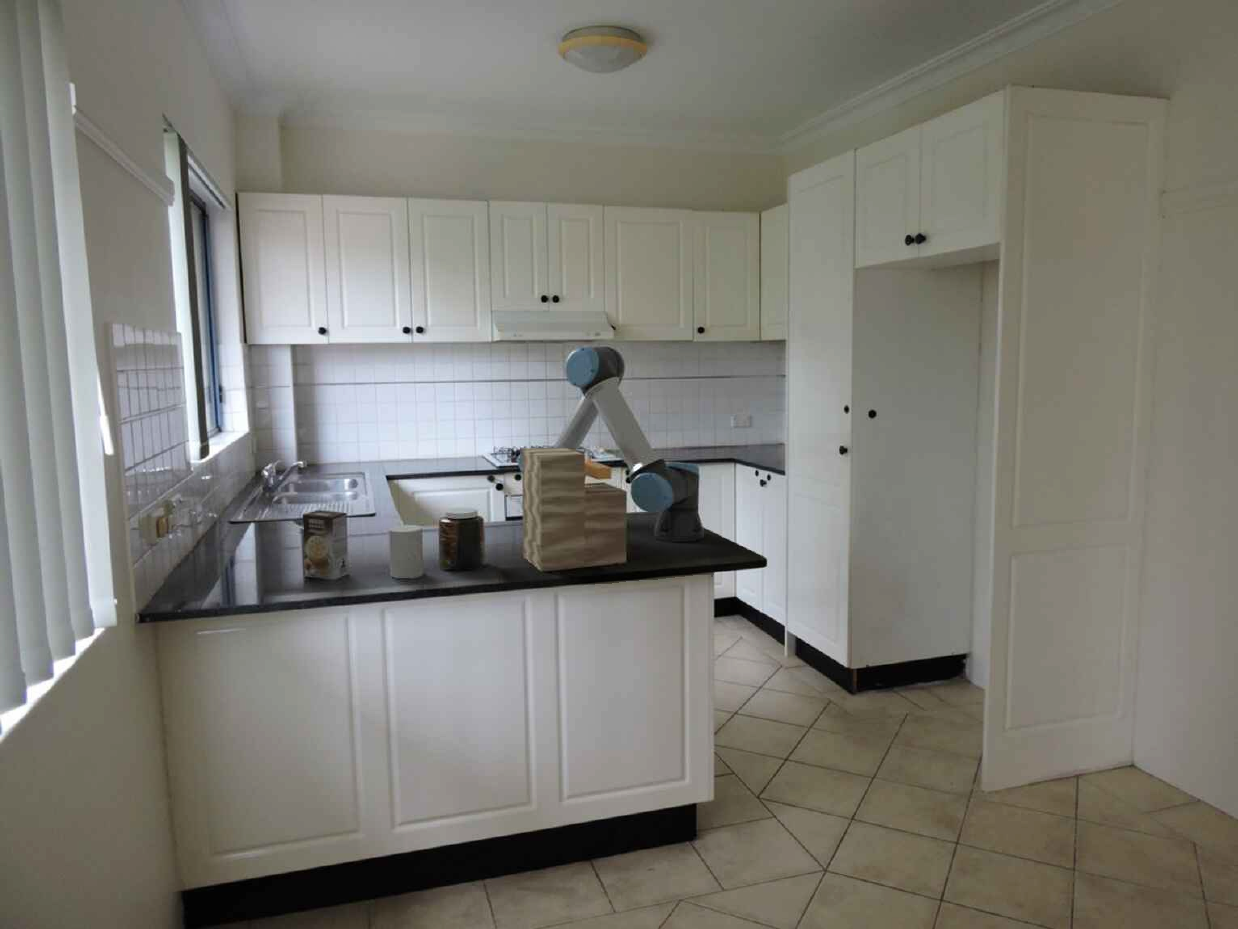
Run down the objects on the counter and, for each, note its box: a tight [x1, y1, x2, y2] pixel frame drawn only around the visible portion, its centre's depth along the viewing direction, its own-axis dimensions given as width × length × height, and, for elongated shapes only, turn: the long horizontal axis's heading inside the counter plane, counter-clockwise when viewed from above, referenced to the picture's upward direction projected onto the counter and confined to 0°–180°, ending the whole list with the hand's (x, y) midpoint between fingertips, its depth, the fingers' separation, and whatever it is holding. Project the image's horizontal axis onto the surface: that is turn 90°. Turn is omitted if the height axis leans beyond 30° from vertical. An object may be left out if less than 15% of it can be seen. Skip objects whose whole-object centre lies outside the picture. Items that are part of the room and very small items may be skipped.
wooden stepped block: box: [520, 447, 628, 572], centre depth 229 cm, size 17×24×30 cm
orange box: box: [585, 458, 612, 481], centre depth 235 cm, size 26×4×3 cm, turn 23°
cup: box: [388, 524, 424, 579], centre depth 214 cm, size 8×8×12 cm
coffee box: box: [302, 509, 349, 580], centre depth 213 cm, size 9×6×16 cm
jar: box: [437, 507, 486, 572], centre depth 223 cm, size 12×12×15 cm
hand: (581, 455), depth 238 cm, fingers closed on orange box, 4 cm apart
